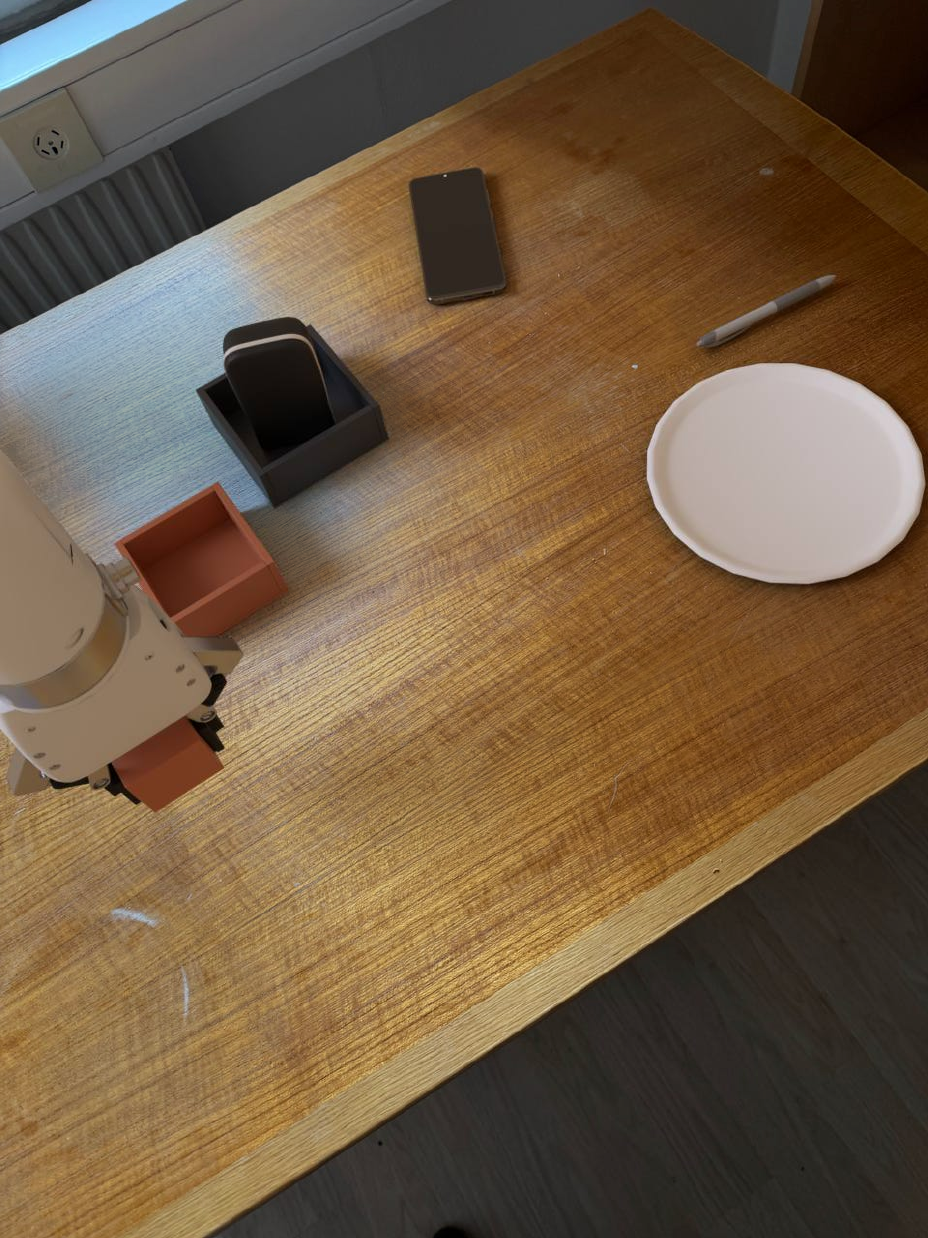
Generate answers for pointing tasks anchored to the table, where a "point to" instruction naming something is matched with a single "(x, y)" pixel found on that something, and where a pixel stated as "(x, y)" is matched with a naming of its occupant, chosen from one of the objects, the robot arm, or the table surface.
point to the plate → (785, 473)
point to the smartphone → (456, 236)
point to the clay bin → (203, 564)
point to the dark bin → (311, 460)
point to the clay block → (167, 765)
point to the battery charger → (278, 381)
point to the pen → (763, 312)
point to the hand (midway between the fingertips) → (170, 757)
